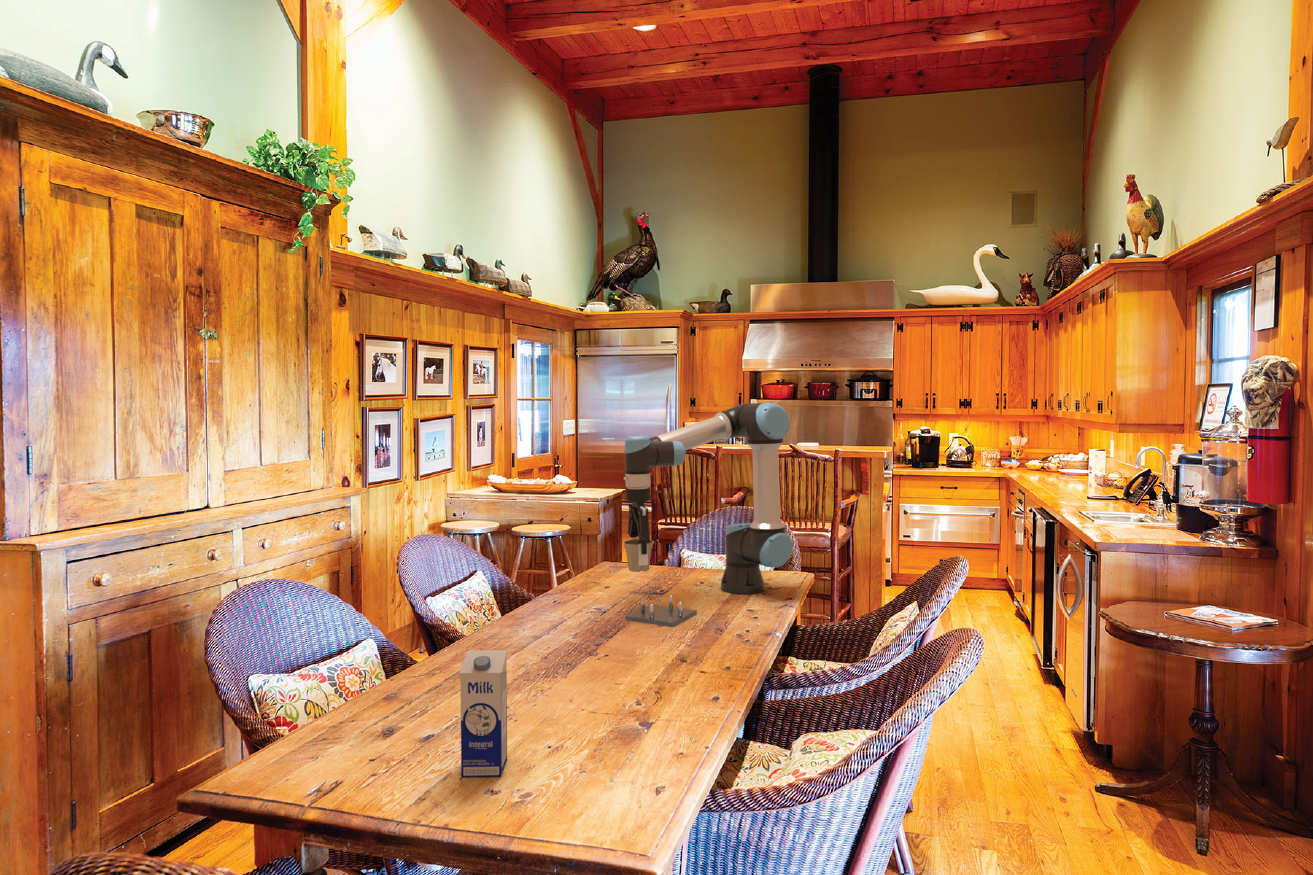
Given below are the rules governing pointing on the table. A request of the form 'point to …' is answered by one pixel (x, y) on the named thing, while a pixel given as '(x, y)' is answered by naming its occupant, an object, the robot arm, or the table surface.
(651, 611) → the plate
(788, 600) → the table surface
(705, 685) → the table surface
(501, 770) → the milk carton
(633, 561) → the flower pot
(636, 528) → the robot arm
